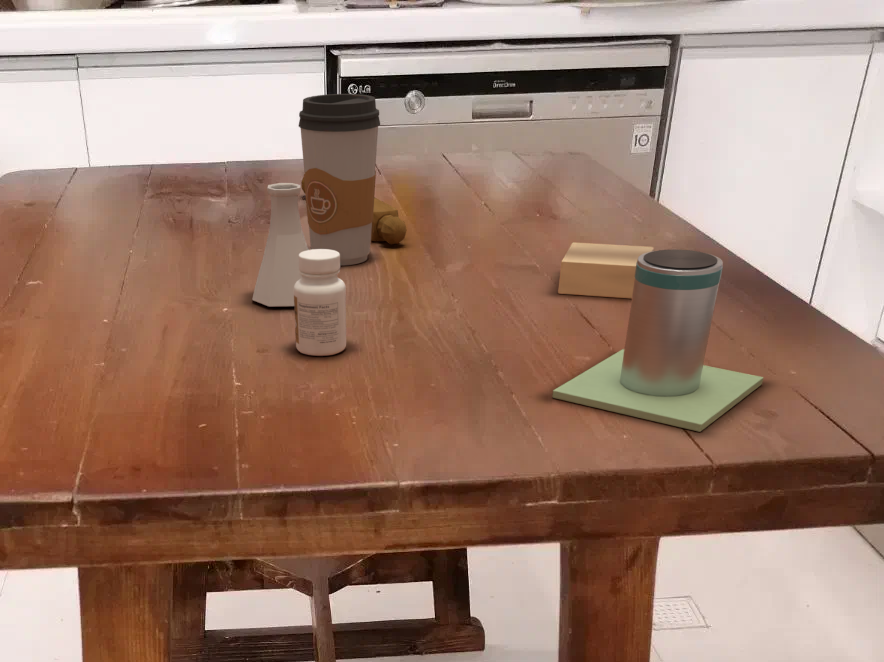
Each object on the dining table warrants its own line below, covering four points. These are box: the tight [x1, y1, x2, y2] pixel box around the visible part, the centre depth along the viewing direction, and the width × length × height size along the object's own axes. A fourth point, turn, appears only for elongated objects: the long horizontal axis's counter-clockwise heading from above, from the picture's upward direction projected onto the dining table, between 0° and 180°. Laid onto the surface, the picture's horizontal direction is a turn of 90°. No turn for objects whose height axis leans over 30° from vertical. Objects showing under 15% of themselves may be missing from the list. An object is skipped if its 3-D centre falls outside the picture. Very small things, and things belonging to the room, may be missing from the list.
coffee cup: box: [298, 93, 381, 266], centre depth 114 cm, size 8×8×15 cm
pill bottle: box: [293, 249, 347, 357], centre depth 93 cm, size 4×4×8 cm
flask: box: [252, 182, 310, 307], centre depth 104 cm, size 7×7×10 cm
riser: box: [557, 241, 655, 300], centre depth 108 cm, size 8×8×3 cm
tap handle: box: [300, 176, 407, 245], centre depth 132 cm, size 3×3×30 cm
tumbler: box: [620, 249, 724, 396], centre depth 82 cm, size 9×6×6 cm
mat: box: [551, 348, 764, 433], centre depth 85 cm, size 12×12×1 cm
